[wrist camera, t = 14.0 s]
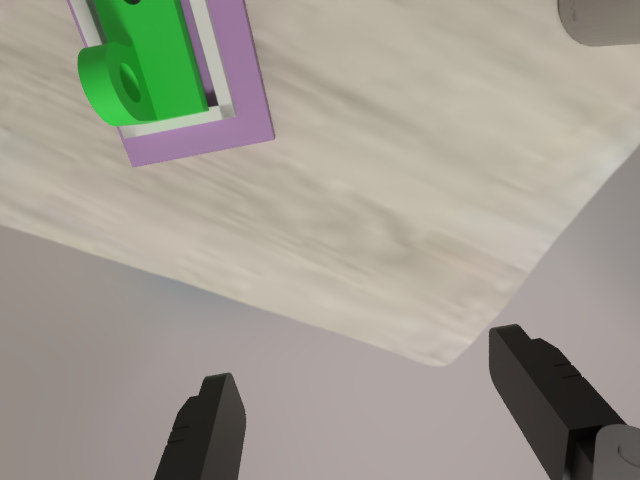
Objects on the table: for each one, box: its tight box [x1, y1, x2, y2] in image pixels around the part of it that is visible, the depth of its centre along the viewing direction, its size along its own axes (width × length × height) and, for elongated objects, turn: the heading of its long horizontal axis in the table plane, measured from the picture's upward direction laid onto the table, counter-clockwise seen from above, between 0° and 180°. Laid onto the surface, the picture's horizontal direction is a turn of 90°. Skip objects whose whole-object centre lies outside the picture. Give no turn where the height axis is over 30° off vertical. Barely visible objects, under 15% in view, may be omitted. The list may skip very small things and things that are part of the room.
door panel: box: [67, 0, 275, 167], centre depth 33 cm, size 14×20×3 cm
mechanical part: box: [78, 0, 209, 126], centre depth 28 cm, size 12×6×8 cm, turn 10°
